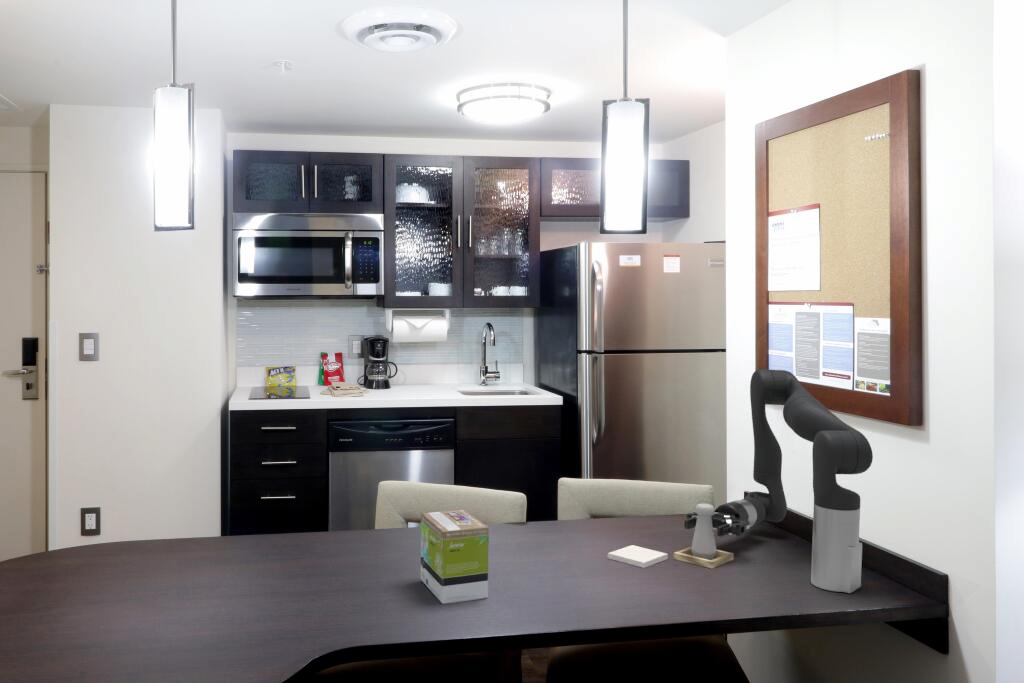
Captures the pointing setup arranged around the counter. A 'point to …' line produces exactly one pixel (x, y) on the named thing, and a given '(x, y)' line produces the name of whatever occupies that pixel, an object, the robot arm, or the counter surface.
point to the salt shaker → (704, 533)
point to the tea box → (454, 556)
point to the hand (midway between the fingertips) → (702, 528)
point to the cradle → (686, 557)
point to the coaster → (637, 556)
